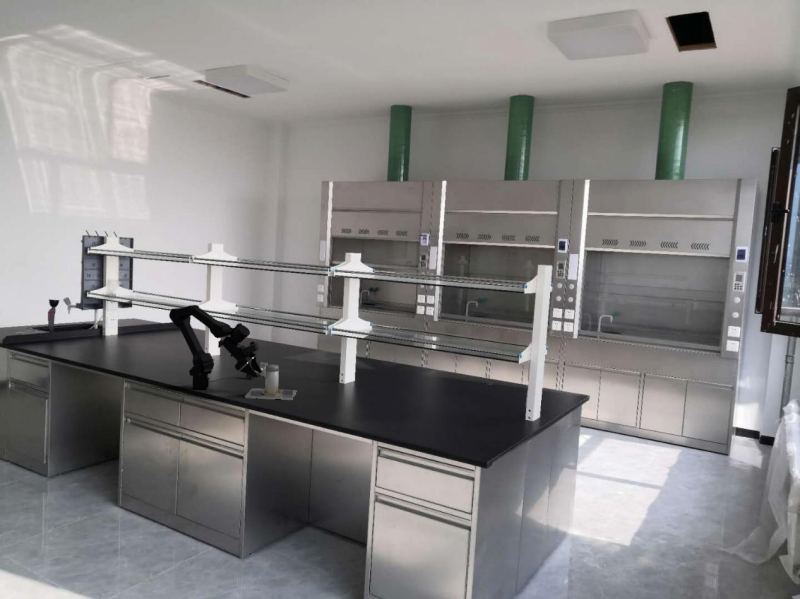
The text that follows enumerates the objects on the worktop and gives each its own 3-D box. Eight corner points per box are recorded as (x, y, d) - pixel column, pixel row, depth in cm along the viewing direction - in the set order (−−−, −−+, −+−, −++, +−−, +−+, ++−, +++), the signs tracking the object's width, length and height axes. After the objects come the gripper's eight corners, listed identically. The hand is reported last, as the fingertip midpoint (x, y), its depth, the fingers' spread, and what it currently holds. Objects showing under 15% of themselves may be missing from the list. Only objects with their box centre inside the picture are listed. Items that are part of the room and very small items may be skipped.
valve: (261, 374, 316) (244, 378, 305) (261, 361, 315) (244, 364, 305) (271, 376, 312) (254, 380, 302) (271, 363, 312) (255, 366, 302)
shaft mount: (244, 398, 267) (245, 392, 267) (252, 390, 281) (252, 385, 281) (292, 400, 268) (292, 394, 267) (296, 392, 282) (296, 386, 281)
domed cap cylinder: (263, 394, 271) (264, 366, 270) (266, 391, 277) (267, 364, 276) (276, 394, 272) (277, 367, 270) (278, 391, 277) (279, 365, 276)
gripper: (243, 339, 263) (268, 366, 264) (252, 333, 281) (276, 358, 283) (224, 357, 263) (249, 384, 264) (234, 349, 282) (258, 374, 283)
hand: (259, 374), depth 274 cm, fingers open, 9 cm apart
